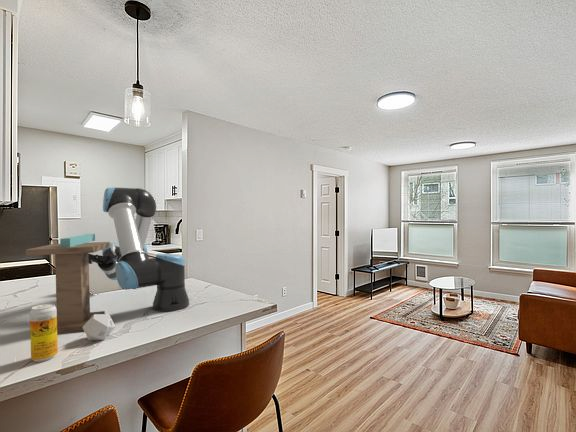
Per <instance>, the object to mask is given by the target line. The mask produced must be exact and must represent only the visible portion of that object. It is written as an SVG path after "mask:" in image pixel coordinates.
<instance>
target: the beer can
mask: <svg viewBox="0 0 576 432" xmlns="http://www.w3.org/2000/svg"><path fill="white" fill-rule="evenodd" d="M29 330H30V337H29V338H30V359H31V360H32V361H33V362H35V363H40V362H41V363H42V362H47V361H49V360H51V359H54V358H55V357H56V355H57V354H58V353H59V350H58V349H59V347H58V346H59V345H58V334H57V306H56V305H55V304H54V303H44V304H39V305H36V306H32V307H31V310H30V312H29Z"/></svg>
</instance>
